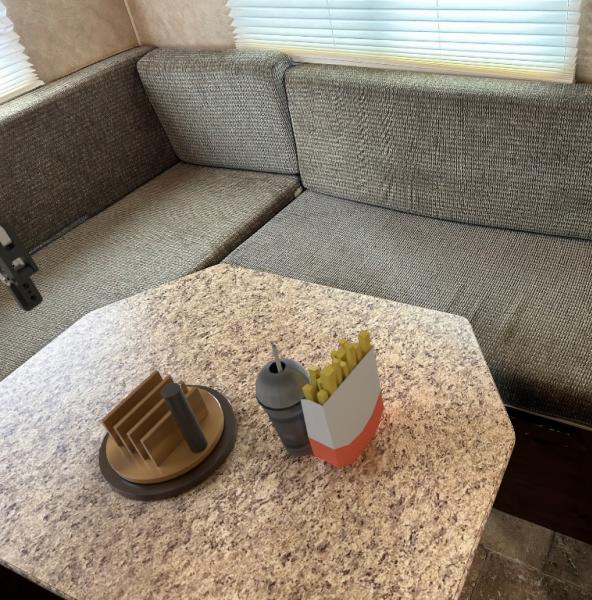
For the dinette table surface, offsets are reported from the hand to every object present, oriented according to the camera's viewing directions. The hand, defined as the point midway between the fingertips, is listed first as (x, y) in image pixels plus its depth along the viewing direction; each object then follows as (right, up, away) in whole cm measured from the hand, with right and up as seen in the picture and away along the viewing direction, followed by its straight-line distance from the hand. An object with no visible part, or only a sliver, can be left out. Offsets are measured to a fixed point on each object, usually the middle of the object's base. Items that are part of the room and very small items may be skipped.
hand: (8, 296), depth 66 cm
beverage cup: (+29, -20, +19) cm, 40 cm away
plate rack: (+10, -19, +20) cm, 29 cm away
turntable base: (+10, -21, +21) cm, 31 cm away
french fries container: (+36, -20, +18) cm, 45 cm away
